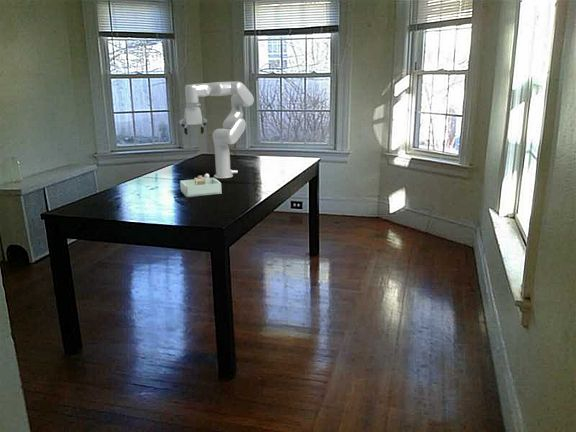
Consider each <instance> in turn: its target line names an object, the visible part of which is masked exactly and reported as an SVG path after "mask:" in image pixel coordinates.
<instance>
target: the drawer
mask: <svg viewBox="0 0 576 432" xmlns="http://www.w3.org/2000/svg"><path fill="white" fill-rule="evenodd" d="M194 182H195V185H205V184H206V179H205V177H204V176H203V175H197V177H194Z"/></svg>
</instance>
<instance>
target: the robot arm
mask: <svg viewBox="0 0 576 432" xmlns="http://www.w3.org/2000/svg"><path fill="white" fill-rule="evenodd" d="M184 92H185V93H184V94H185V108H184V117H183V118H182V119H180V120H179V121H178V123H179V124H180V125H181V127H182V128H183V130H184V131H183V132H184V135H186V136H187V135H188V126H195V125H198V126H199V125H200V134H202V135H203V134H204V132H205V126H206V125H207V124H208V120H209V119H207V118H204V117H203V115H202V111H201V107H200V106H202V103H200V101H199V97H208V96H210V97H222V96H231V97H230V102H231V104H230V105H231V110H230V112H229V113H228V115H227V116H226V118H224V121H223V122H222V128H216V129H215V130H214V131H213V132H212V141H213V145H214V157H215V158H214V161H215V174H214V175H213V178H215V179H228V178H229V179H230V178H232V177H233V176H234V174H238V170H237V169H231V156H230V155H231V154H230V148H229V145H234V144H236V143H237V142H238V140H239V139H240V138H241V136H242V134H243V133H244V132H245V130H246V128H247V127H246V126H247V125H246V124H247V123H246V120H245V119H244V118H243V117H244V111H243V107H251V106H253V104H254V102H255V98H254V96H253V93H252V92H251V91H250V90H249V89H248V87H246V85H245V84H244V83H243V82H242V81H216V82H215V81H214V82H207V83H192V84H186V85H185V86H184ZM203 121H204V122H203ZM183 122H184V123H183Z"/></svg>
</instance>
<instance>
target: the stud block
mask: <svg viewBox="0 0 576 432" xmlns="http://www.w3.org/2000/svg"><path fill="white" fill-rule="evenodd" d="M203 177H204V178H210V174H209V173H205V174H204V175H203ZM215 179H216V180H217V181H219V180H218V178H215ZM219 182H220V181H219ZM220 183H221V182H220ZM221 184H222V183H221Z"/></svg>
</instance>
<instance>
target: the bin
mask: <svg viewBox="0 0 576 432" xmlns="http://www.w3.org/2000/svg"><path fill="white" fill-rule="evenodd" d="M204 178H205V177H204ZM205 179H206V184H205V185H195V182H194V179H186V180H185V179H184V180H179V184H180V186H179V187H180V192H182V194H183V195H184V196H185V197H186V198H193V197H201V196H213V195H220V194H221V195H222V194H223V193H222V183H220V181H219V180H218V179H217V178H215V177H209V178H205ZM216 179H217V180H218V181H217V180H216Z"/></svg>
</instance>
